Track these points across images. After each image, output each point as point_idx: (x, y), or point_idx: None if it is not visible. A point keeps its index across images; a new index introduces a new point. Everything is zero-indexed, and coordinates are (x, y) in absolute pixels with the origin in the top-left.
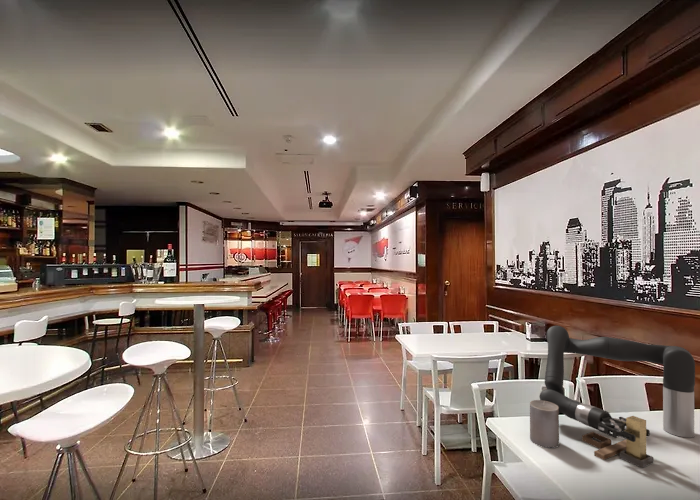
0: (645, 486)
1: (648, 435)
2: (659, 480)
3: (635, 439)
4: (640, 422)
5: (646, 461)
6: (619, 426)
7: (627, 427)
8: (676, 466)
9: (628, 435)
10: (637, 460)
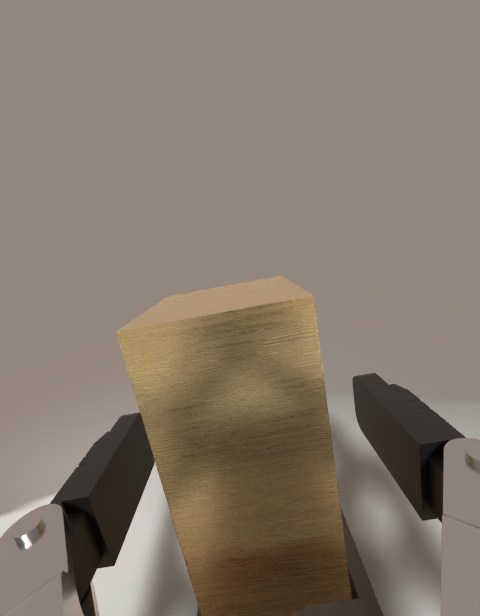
0: None
1: None
2: (351, 445)
3: (358, 403)
4: (267, 279)
5: None
6: (364, 608)
7: (324, 425)
8: (153, 496)
9: (414, 397)
10: (352, 544)
